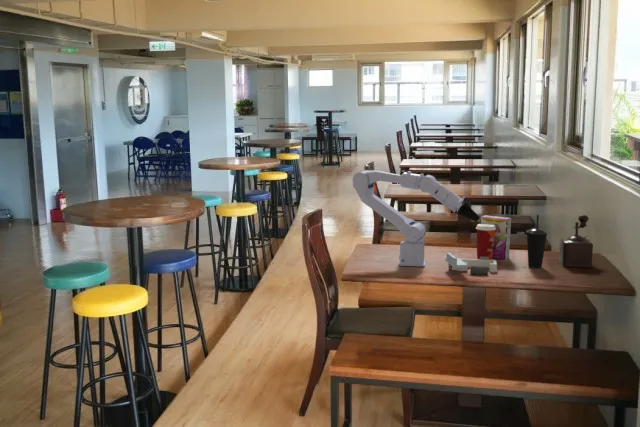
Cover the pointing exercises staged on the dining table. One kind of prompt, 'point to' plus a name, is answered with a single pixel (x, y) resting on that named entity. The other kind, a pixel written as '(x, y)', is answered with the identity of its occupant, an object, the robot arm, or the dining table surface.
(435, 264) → the dining table surface
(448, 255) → the cover
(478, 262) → the pale grey rectangular block
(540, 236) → the drinking cup
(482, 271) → the gray tin can
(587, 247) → the manual coffee grinder
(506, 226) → the candy bar box
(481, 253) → the paper cup
